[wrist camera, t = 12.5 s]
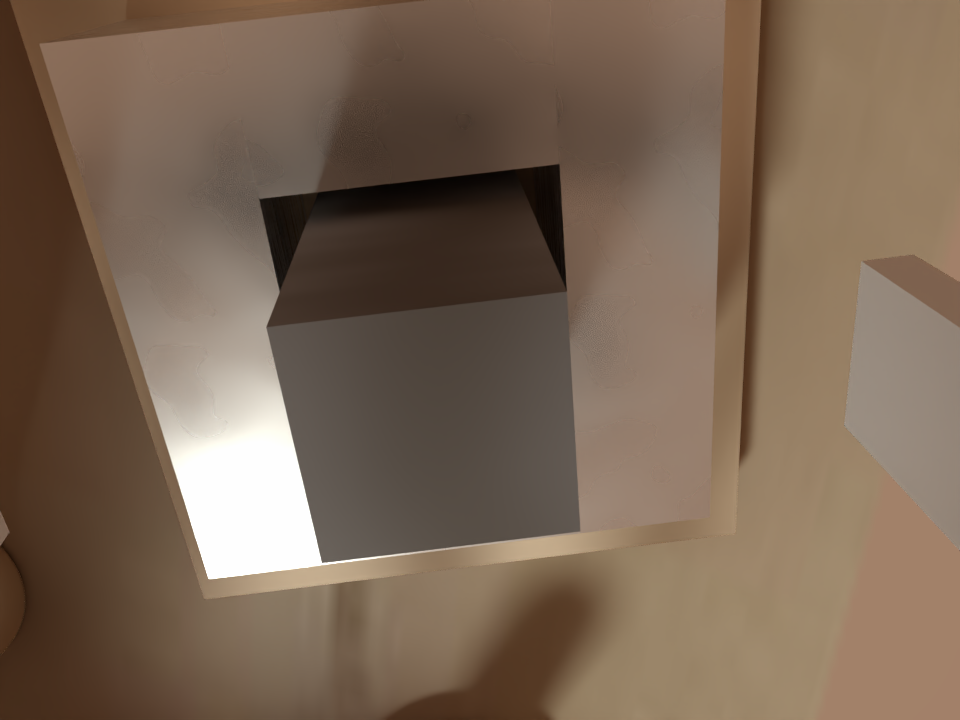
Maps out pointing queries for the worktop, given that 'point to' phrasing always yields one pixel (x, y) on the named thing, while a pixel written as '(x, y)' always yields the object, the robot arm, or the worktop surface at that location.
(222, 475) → the white square frame
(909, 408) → the robot arm
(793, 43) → the worktop surface
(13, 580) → the beer glass
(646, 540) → the hub base
